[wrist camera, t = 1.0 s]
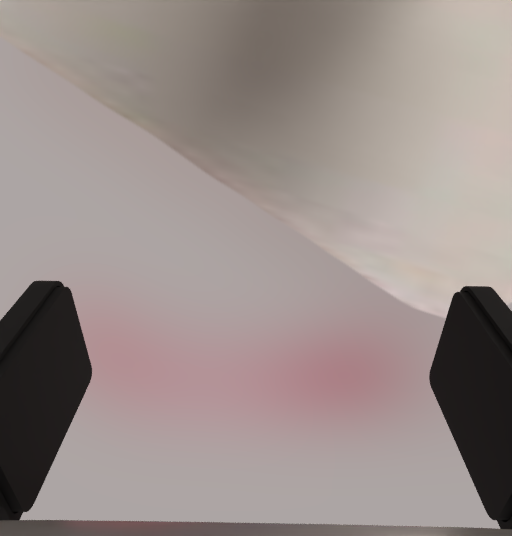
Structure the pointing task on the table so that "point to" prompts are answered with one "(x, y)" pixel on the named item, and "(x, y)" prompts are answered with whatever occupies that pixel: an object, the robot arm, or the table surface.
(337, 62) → the table surface
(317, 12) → the table surface
